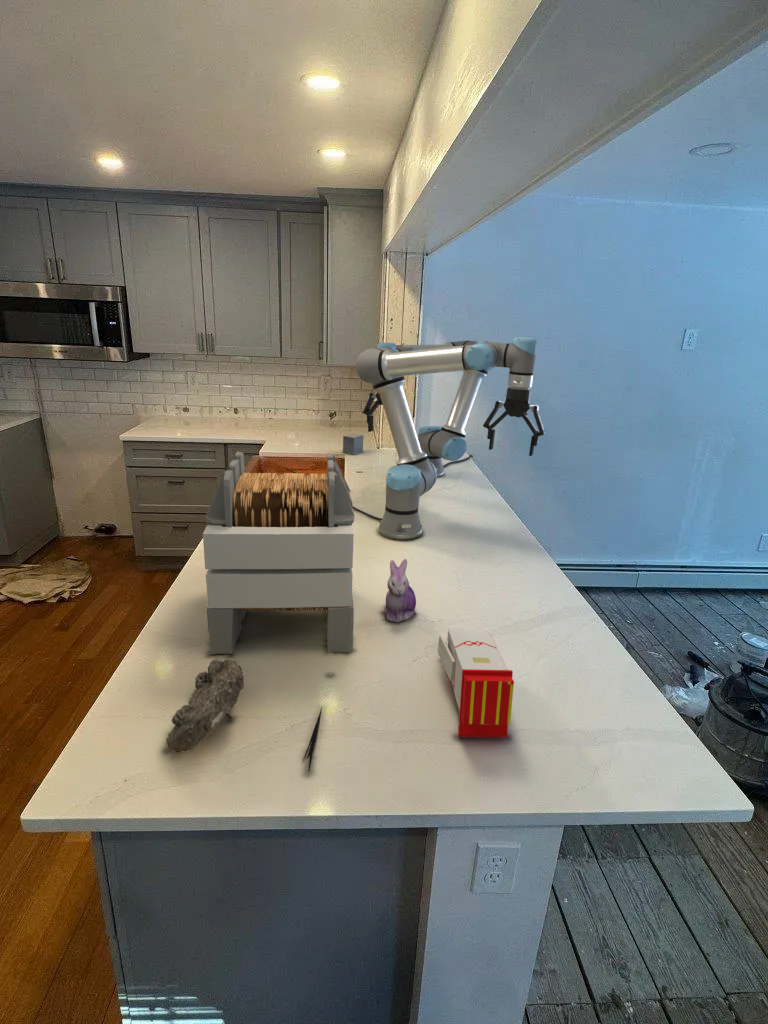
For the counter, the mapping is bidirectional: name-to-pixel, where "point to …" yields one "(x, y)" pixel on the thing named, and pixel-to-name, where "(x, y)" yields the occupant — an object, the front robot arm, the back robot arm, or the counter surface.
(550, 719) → the counter surface
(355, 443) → the block
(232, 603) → the record crate stand
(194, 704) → the fossil
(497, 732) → the toy
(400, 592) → the figurine
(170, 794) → the counter surface
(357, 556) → the counter surface
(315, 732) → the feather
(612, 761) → the counter surface
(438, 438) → the back robot arm
